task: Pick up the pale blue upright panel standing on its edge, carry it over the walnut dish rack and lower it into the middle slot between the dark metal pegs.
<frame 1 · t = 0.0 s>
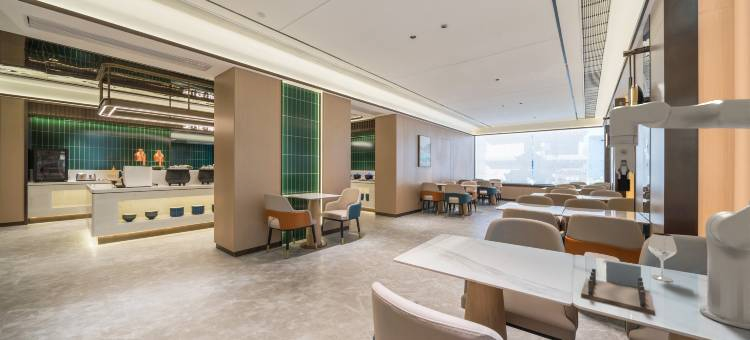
hand: (623, 190, 98), 37 cm above the table, tool pointing down, fingers open, 9 cm apart
pale blue upright panel: (623, 283, 109), on the table
rack: (615, 295, 98), on the table
wineglass: (662, 279, 114), on the table
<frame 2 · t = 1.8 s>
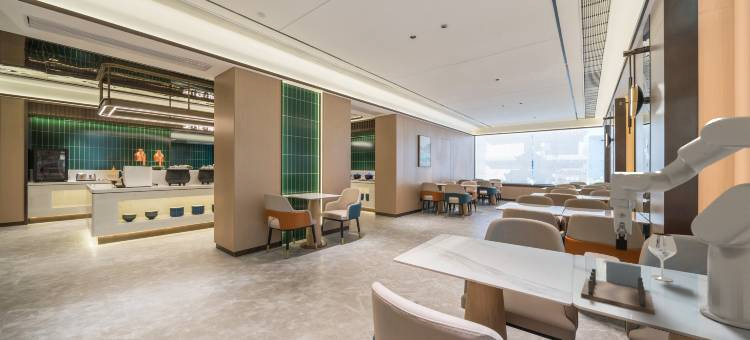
hand: (621, 247, 109), 14 cm above the table, tool pointing down, fingers open, 9 cm apart
nothing on the table moved.
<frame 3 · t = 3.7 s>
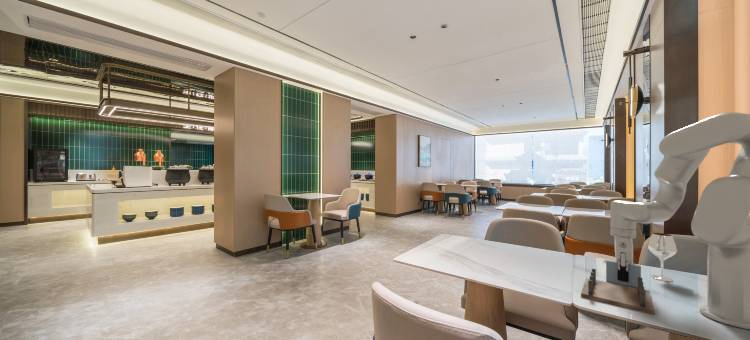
hand: (623, 279, 109), 2 cm above the table, tool pointing down, fingers closed on pale blue upright panel, 2 cm apart
pale blue upright panel: (623, 283, 109), on the table, touching gripper
everything else where it was.
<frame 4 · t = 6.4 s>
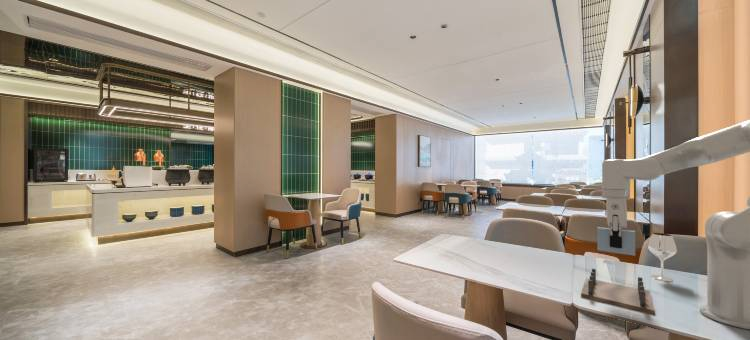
hand: (615, 246, 98), 17 cm above the table, tool pointing down, fingers closed on pale blue upright panel
pale blue upright panel: (615, 252, 98), point 15 cm above the table, touching gripper
everything else where it was.
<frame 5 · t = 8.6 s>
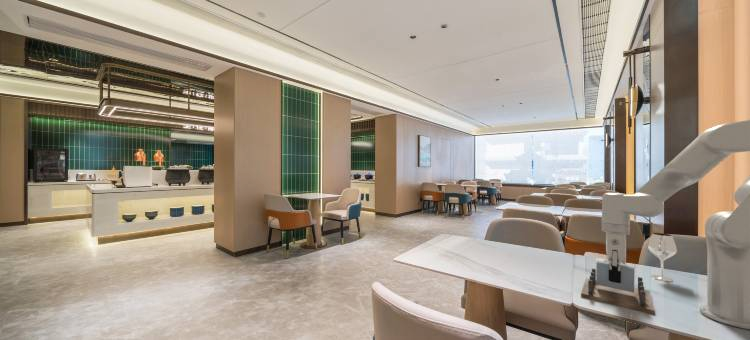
hand: (614, 280, 98), 5 cm above the table, tool pointing down, fingers closed on pale blue upright panel, 2 cm apart
pale blue upright panel: (614, 287, 98), point 3 cm above the table, touching gripper
everything else where it was.
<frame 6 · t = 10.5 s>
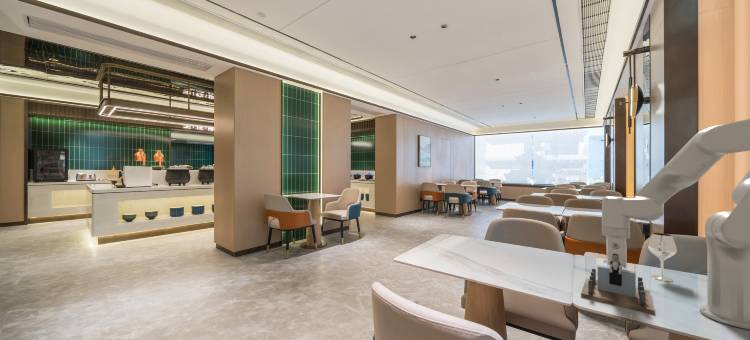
hand: (615, 280, 98), 5 cm above the table, tool pointing down, fingers open, 9 cm apart
pale blue upright panel: (615, 292, 98), point 1 cm above the table, touching rack
everything else where it was.
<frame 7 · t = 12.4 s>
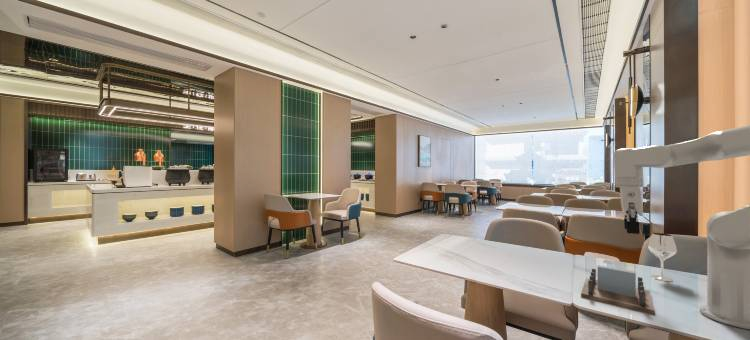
hand: (631, 231, 99), 22 cm above the table, tool pointing down, fingers open, 9 cm apart
nothing on the table moved.
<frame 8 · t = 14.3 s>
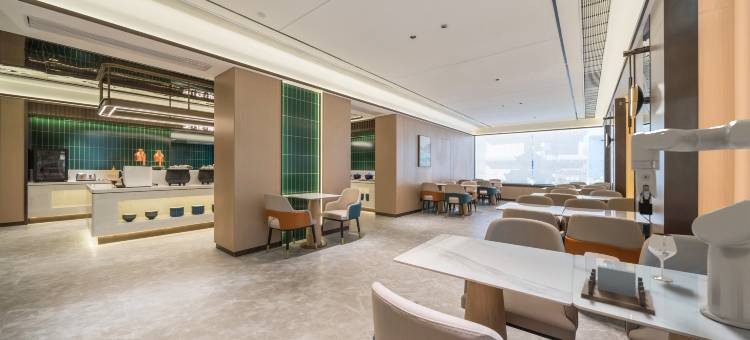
hand: (645, 213, 102), 28 cm above the table, tool pointing down, fingers open, 9 cm apart
nothing on the table moved.
at the end: pale blue upright panel 0.1 cm off-centre on the rack, point 1.2 cm above the rack's base; pale blue upright panel tilted 0°; the gripper is holding nothing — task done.
